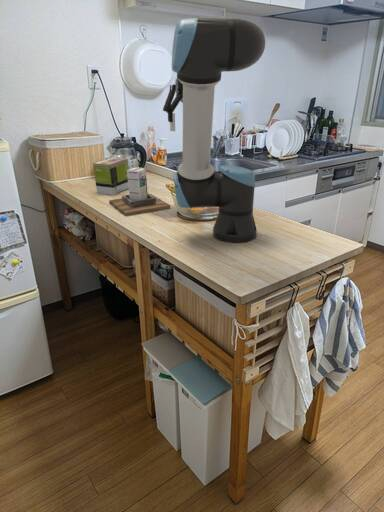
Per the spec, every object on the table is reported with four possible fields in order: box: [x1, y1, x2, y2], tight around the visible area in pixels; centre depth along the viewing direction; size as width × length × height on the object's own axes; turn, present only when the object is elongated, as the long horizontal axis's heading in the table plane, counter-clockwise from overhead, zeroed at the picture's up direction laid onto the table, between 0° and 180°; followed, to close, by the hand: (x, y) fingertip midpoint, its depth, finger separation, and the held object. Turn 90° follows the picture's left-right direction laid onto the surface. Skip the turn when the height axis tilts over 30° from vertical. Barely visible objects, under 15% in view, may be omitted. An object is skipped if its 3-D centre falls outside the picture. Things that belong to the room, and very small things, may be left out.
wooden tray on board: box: [108, 193, 171, 217], centre depth 161 cm, size 20×20×4 cm
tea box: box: [92, 157, 130, 196], centre depth 182 cm, size 15×10×15 cm, turn 154°
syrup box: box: [127, 167, 149, 201], centre depth 158 cm, size 6×6×14 cm
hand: (187, 130), depth 149 cm, fingers open, 13 cm apart
